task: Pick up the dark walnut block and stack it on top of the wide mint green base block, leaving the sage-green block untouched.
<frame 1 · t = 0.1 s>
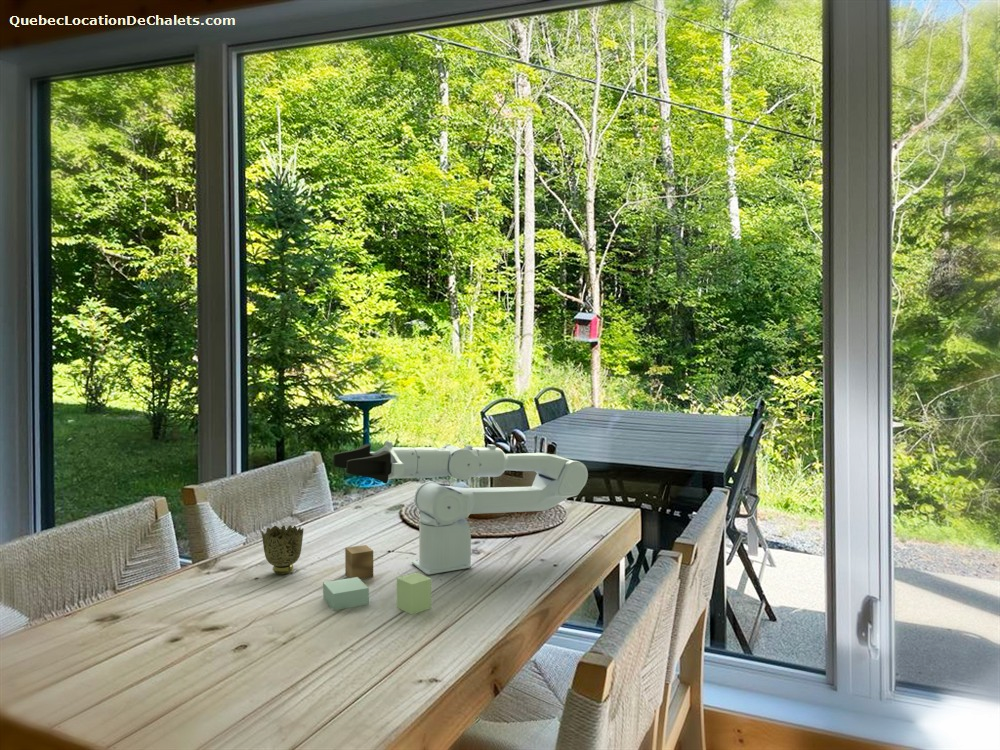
hand: (340, 463, 135), 22 cm above the table, tool horizontal, fingers open, 7 cm apart
mint green base block: (345, 602, 128), on the table
sage block: (414, 607, 125), on the table
walnut block: (359, 575, 141), on the table
cup: (283, 573, 142), on the table
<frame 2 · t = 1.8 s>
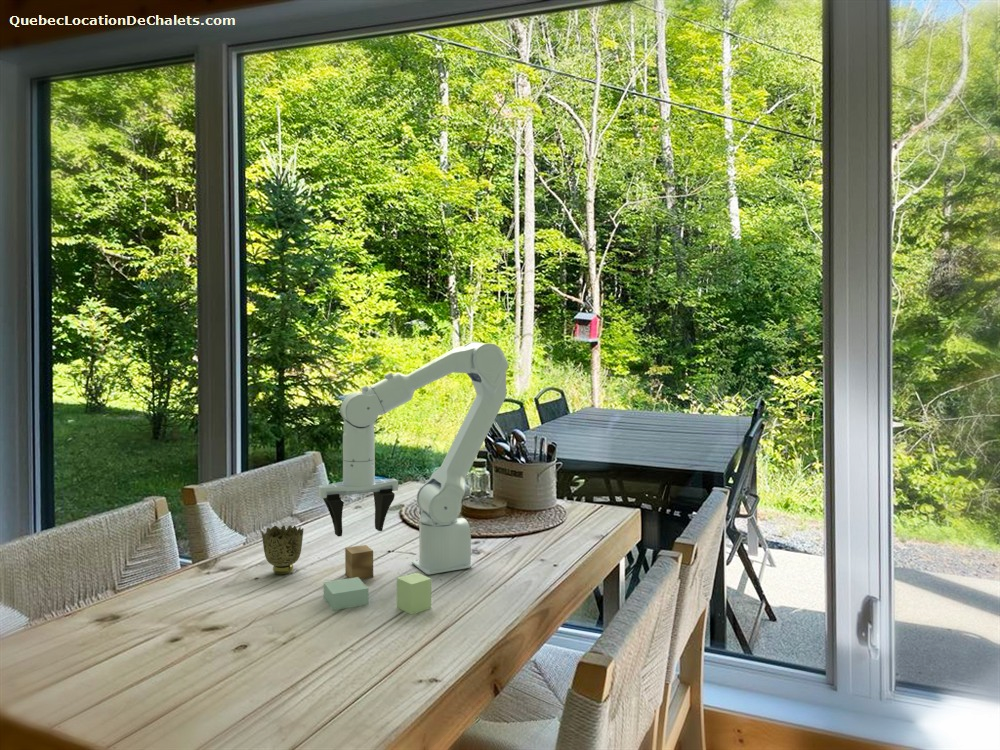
hand: (358, 532, 140), 8 cm above the table, tool pointing down, fingers open, 7 cm apart
nothing on the table moved.
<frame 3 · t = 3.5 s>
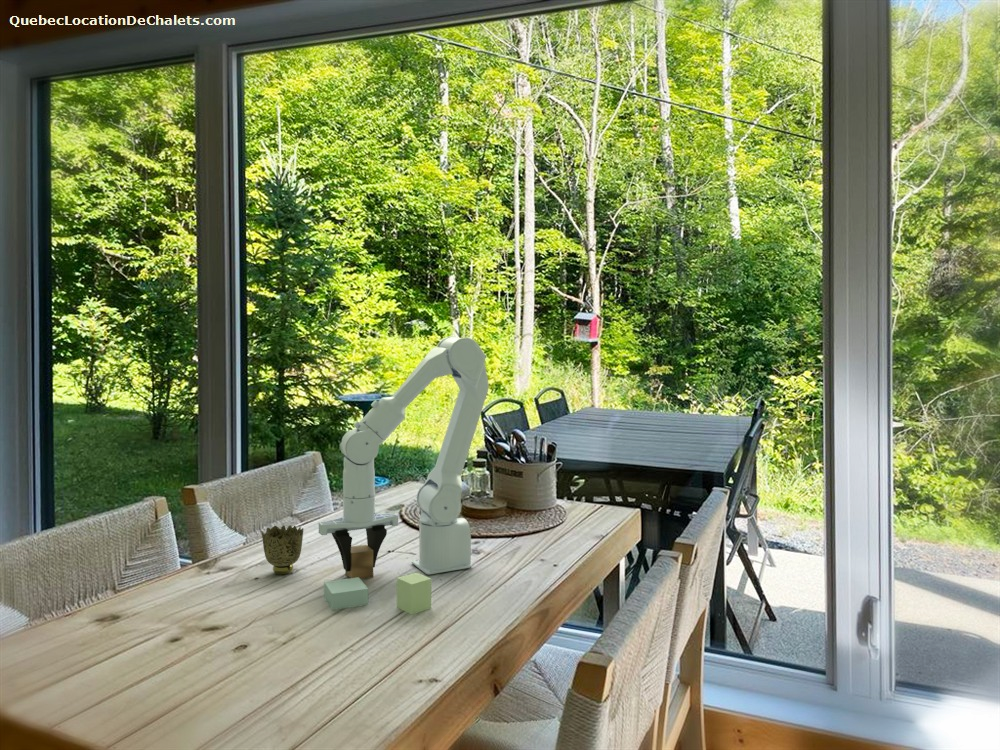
hand: (359, 567, 140), 1 cm above the table, tool pointing down, fingers closed on walnut block, 4 cm apart
walnut block: (359, 575, 141), on the table, touching gripper
everything else where it was.
when the fingers open (5 cm above the table, at t = 6.6 s): walnut block stays where it is, point 3 cm above the table.
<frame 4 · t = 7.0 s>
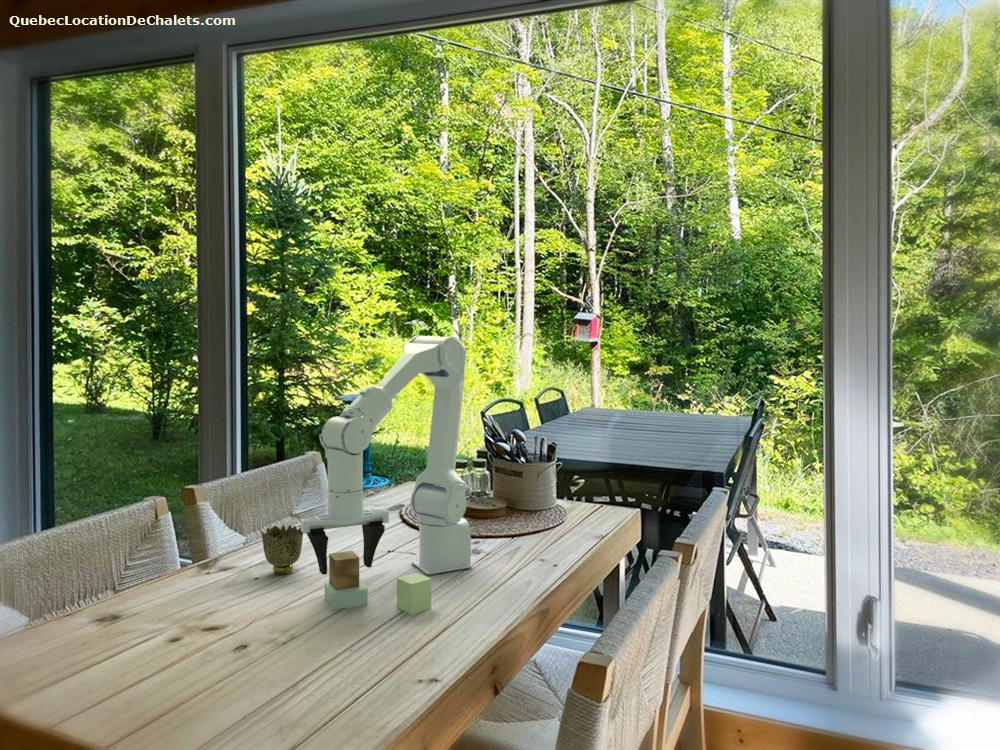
hand: (345, 569, 128), 5 cm above the table, tool pointing down, fingers open, 7 cm apart
walnut block: (344, 584, 128), point 3 cm above the table
everything else where it was.
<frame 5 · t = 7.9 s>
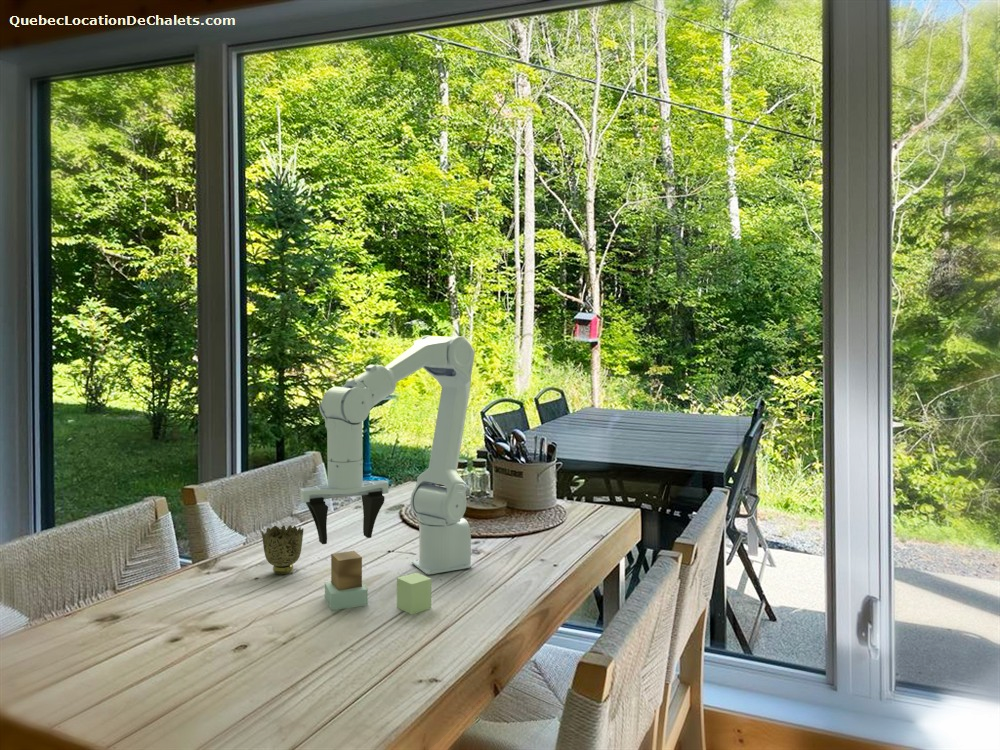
hand: (345, 539, 128), 10 cm above the table, tool pointing down, fingers open, 7 cm apart
nothing on the table moved.
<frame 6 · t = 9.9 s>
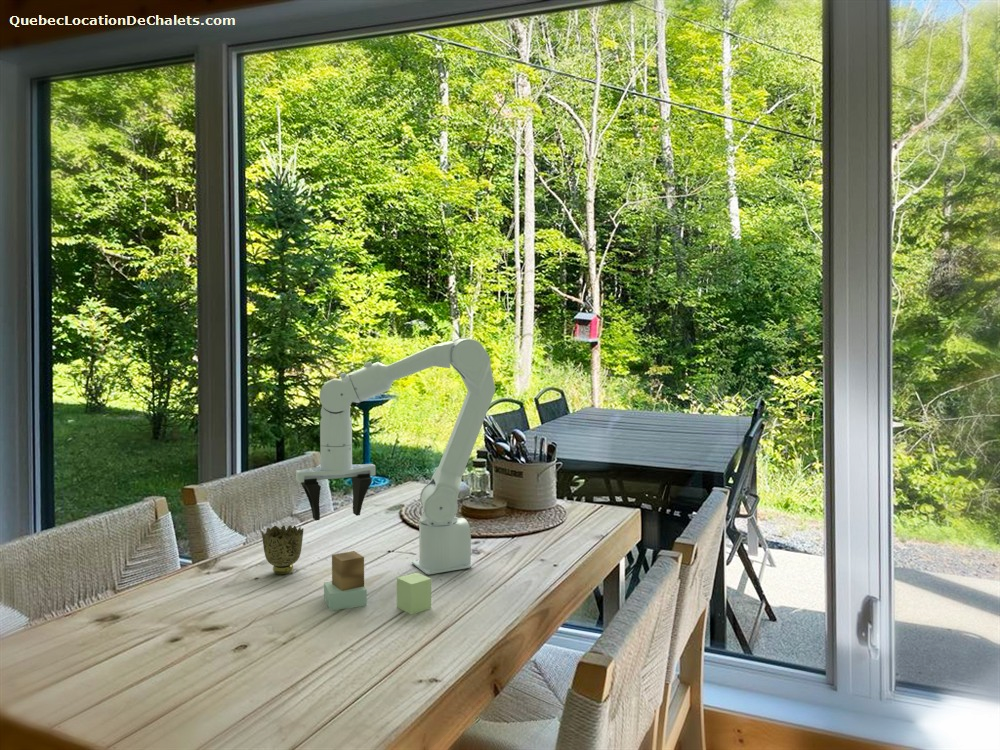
hand: (336, 516, 142), 10 cm above the table, tool pointing down, fingers open, 7 cm apart
mint green base block: (345, 603, 128), on the table, touching walnut block
walnut block: (348, 585, 128), point 3 cm above the table, touching mint green base block
everything else where it was.
at the end: walnut block 0.5 cm off-centre on the mint green base block, point 3.0 cm above the mint green base block's base; walnut block tilted 0°; sage block moved 0.1 cm from its start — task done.
